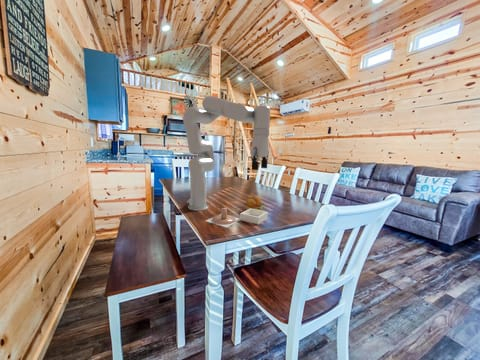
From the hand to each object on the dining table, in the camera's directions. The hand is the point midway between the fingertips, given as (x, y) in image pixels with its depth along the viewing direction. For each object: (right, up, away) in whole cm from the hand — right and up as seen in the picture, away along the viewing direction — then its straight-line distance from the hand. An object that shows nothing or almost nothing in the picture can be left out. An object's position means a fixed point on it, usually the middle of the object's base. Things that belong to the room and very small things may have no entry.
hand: (259, 168), depth 103 cm
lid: (-18, -27, +8) cm, 33 cm away
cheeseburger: (-1, -25, +25) cm, 35 cm away
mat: (-18, -27, +8) cm, 33 cm away
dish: (-2, -27, +11) cm, 29 cm away
